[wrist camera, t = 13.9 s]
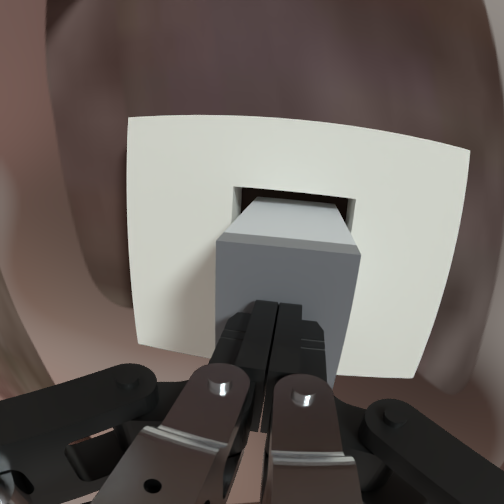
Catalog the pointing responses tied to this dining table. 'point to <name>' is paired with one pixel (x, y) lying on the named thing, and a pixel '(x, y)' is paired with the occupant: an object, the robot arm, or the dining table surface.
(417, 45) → the dining table surface
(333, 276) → the plug
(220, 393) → the robot arm
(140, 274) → the socket plate
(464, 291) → the dining table surface
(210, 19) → the dining table surface
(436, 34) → the dining table surface
